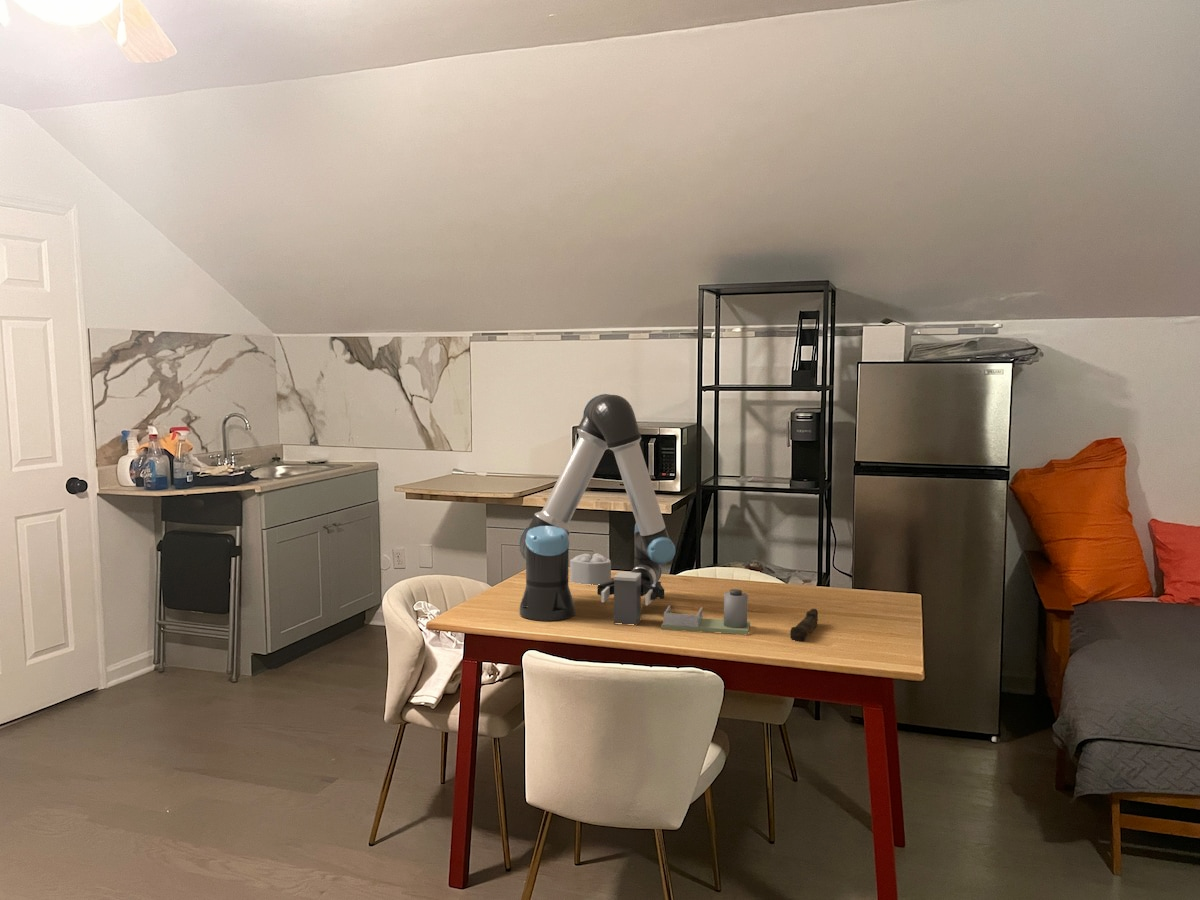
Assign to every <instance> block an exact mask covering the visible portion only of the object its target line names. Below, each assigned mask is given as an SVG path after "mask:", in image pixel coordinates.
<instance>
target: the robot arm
mask: <svg viewBox="0 0 1200 900" xmlns="http://www.w3.org/2000/svg"><path fill="white" fill-rule="evenodd" d="M582 413H583V414H582V418H581V421H580V423H579V425H578V427H577V429H576V430H577V433H578V438H577V440H576V442H575V444H574V446H573V448H572V450H571V452H570V455H569V456H568V458H567V460H566V462H565V464H564V467H562V470H561V471H560V474H559V476H558V478H557V481H556V482H555V485H554V486H553V489H552V490H551V492H550V494H549V496H548V498H547V500H546V502H545V504H544V506H543V507H542V510H541V511H537V512H535V513H534V514H533V516H532V518H531V520H530V523H529V524H528V526H526V528H524V529H523V531H522V532H521V535H520V538H519V543H518V544H519V547H518V548H519V551H520V553H521V556H522V558H523V559H524V560H525V565H526V566H525V589H524V592H523V595H522V598H521V602H520V605H519V616H520V617H522V616H523V617H522V618H524V617H525V618H524V619H527V618H528V619H527V620H532V619H533V621H541V622H542V621H545V622H546V621H549V620H550V621H561V620H566V619H569V618H571V616H572V617H574V616H575V613H576V612H575V608H576V607H575V602H574V598H573V597H572V593H571V589H570V587H569V562H570V561H569V559H570V558H569V551H570V550H569V547H570V539H569V536H570V534H571V528H570V521H571V520H572V517H573V516H574V514H575V512H576V510H577V507H578V506H579V504H580V502H581V499H582V498H583V496H584V494H585V491H586V490H587V488H588V486H589V483H590V482H591V480H592V478H593V476H594V474H595V472H596V469H597V468H598V466H599V463H600V461H601V460H602V458H603V456H604V453H605V451H606V450H610V451H612V452H613V455H614V457H615V461H616V464H617V467H618V470H619V473H620V476H621V480H622V482H623V485H624V489H625V492H626V495H627V498H628V501H629V504H630V508H631V511H632V513H633V517H634V519H635V524H634V532H633V533H634V534H633V535H634V565H633V566H634V567H633V569H632V570H631V571H630V572H634V573H641V597H643V596H645V597H644V598H645V599H644V600H645V602H644V605H645V606H649V605H650V603H651V602H652V601H655V600H658V598H659V599H660V600H664V599H665V588H664V587H663V585H662V582H661V581H660V579H661V577H662V571H663V570H662V569H663V568H662V566H661V565H665V564H668V563H670V562H671V561H672V560H673V559H674V557H675V555H676V546H675V544H674V542H673V541H672V540H671V538H670V536H669V533H668V530H667V528H666V523H665V520H664V517H663V514H662V512H661V507H660V505H659V502H658V498H657V496H656V492H655V489H654V486H653V482H652V479H651V476H650V474H649V470H648V467H647V464H646V460H645V457H644V454H643V451H642V448H641V445H640V443H641V440H642V435H641V432H640V429H639V426H638V422H637V418H636V415H635V411H634V409H633V407H632V405H631V404H630V402H629V401H628V400H627V399H626V398H625V397H622V396H620V395H618V394H610V393H609V394H607V393H603V394H598V395H595V396H594V397H592V398H591V399H590V400H589V401H588V402H587V403H586V405H585V406H584V410H583V412H582ZM596 587H597V588H596V589H597V595H598V596H600V598H601V603H605V602H606V601H607V600H608V599H609V598H610V596H612V595H614V578H613V579H611V581H609V582H606V583H603V584H600V585H598V586H596Z"/></svg>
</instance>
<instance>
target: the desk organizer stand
mask: <svg viewBox="0 0 1200 900" xmlns="http://www.w3.org/2000/svg"><path fill="white" fill-rule="evenodd" d="M748 596H749V595H748V593H747V592H743V591H742V589H735V588H734V589H730V590H729V591H727V592H724V594H723V619H720V618H705V617H703V619H702V621H701V623H700V625H699V627H689V626H675V625H664V621H663V622H662V623H661V630H667V629H673V630H672V631H681V630H686V631H685V632H695V631H702V632H701V633H709V632H721V633H720V634H723V633H731V634H730V635H736V634H746V635H745V636H748V635H749V633H748V632H749V631H750V629H749V628H751V621H749V620H748V608H749V607H748V603H749V602H748V601H749V599H748Z"/></svg>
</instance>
